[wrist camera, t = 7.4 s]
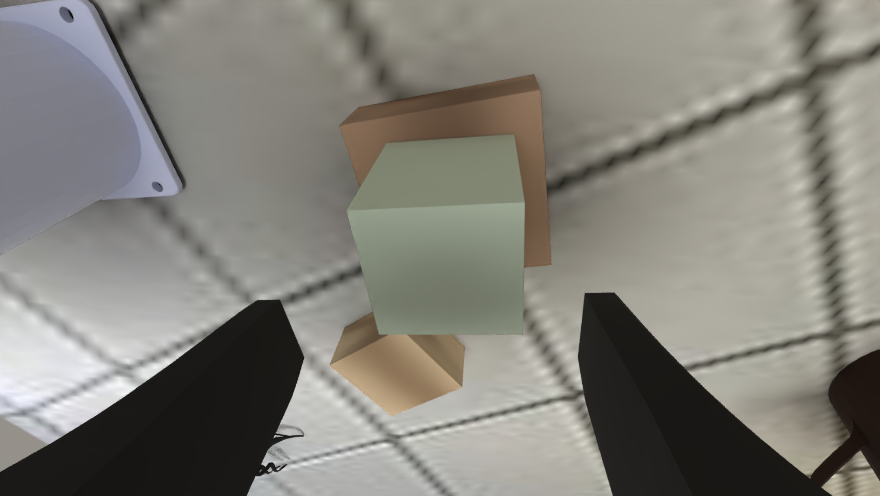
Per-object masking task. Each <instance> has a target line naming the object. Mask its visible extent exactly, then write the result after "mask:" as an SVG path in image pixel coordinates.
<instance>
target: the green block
mask: <svg viewBox="0 0 880 496" xmlns="http://www.w3.org/2000/svg"><path fill="white" fill-rule="evenodd" d="M346 211H347V215H348V218H349V222H350V226H351V230H352V234H353V237H354V241H355V245H356V249H357V253H358V256H359V260H360V264H361V268H362V272H363V275H364V279H365V283H366V287H367V291H368V294H369V298H370V302H371V306H372V310H373V313H374V317H375V321H376V325H377V329H378V332H379V335H523V296H524V220H525V201H524V194H523V188H522V181H521V175H520V169H519V162H518V156H517V149H516V143H515V136H514V134H507V135H493V136H478V137H464V138H449V139H435V140H420V141H405V142H391V143H386V145H385V146H384V148H383V150H382V152H381V153H380V155H379V157H378V158H377V160H376V162H375V163H374V165H373V167H372V168H371V170H370V172H369V173H368V175H367V177H366V178H365V180H364V182H363V183H362V185H361V187H360V188H359V190H358V192H357V194H356V195H355V197H354V199H353V200H352V202H351V204H350V205H349V207H348V209H347V210H346Z"/></svg>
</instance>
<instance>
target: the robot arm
mask: <svg viewBox="0 0 880 496" xmlns="http://www.w3.org/2000/svg"><path fill="white" fill-rule="evenodd" d="M68 9H69V10H70V11H71V13H72V14H73V17H74V20H73V19H72V18H71V16H70V15H69V12H68ZM158 183H160V184H161V185H162V187H163V188H162V187H160V186H159V184H158ZM181 190H182V183H181V181H180V179H179V177H178V175H177V173H176V171H175V169H174V167H173V165H172V163H171V160H170V158H169V156H168V154H167V152H166V150H165V148H164V146H163V144H162V142H161V140H160V138H159V136H158V134H157V132H156V130H155V128H154V126H153V124H152V122H151V120H150V118H149V116H148V114H147V112H146V110H145V108H144V105H143V103H142V101H141V99H140V97H139V95H138V93H137V91H136V89H135V87H134V85H133V83H132V81H131V79H130V77H129V75H128V73H127V71H126V69H125V67H124V65H123V63H122V61H121V59H120V57H119V55H118V53H117V50H116V48H115V46H114V44H113V42H112V40H111V38H110V36H109V34H108V32H107V30H106V28H105V26H104V24H103V22H102V20H101V18H100V16H99V14H98V12H97V10H96V9H95V7H94V5H93V4H91V3H90V2H89V1H88V0H51V1H44V2H37V3H31V4H24V5H17V6H10V7H4V8H0V255H2V254H4V253H5V252H7V251H9V250H11V249H13V248H14V247H16V246H18V245H20V244H21V243H23V242H25V241H27V240H29V239H30V238H32V237H34V236H36V235H37V234H39V233H41V232H43V231H45V230H46V229H48V228H50V227H52V226H54V225H55V224H57V223H59V222H61V221H62V220H64V219H66V218H68V217H70V216H71V215H73V214H75V213H77V212H78V211H80V210H82V209H84V208H86V207H87V206H89V205H91V204H93V203H95V202H96V201H98V200H109V199H125V198H142V197H158V196H173V195H176V194H178V193H179V192H180V191H181ZM303 360H304V356H303V353H302V351H301V349H300V346H299V344H298V341H297V339H296V337H295V334H294V332H293V330H292V327H291V325H290V322H289V320H288V318H287V315H286V313H285V311H284V308H283V306H282V303H281V301H280V300H257V301H255V302H254V303H252V304H251V305H249V306H248V307H246V308H245V309H243V310H242V311H241V312H239V313H238V314H237V315H235V316H234V317H232V318H231V319H230V320H228V321H227V322H226V323H224V324H223V325H222V326H220V327H219V328H218V329H216V330H215V331H214V332H213V333H211V334H210V335H209V336H207V337H206V338H205V339H203V340H202V341H201V342H199V343H198V344H197V345H195V346H194V347H193V348H191V349H190V350H189V351H187V352H186V353H185V354H183V355H182V356H181V357H179V358H178V359H177V360H175V361H174V362H173V363H171V364H170V365H169V366H167V367H166V368H164V369H163V370H161V371H160V372H159V373H157V374H156V375H154V376H153V377H152V378H150V379H149V380H147V381H146V382H145V383H143V384H142V385H140V386H139V387H137V388H136V389H135V390H133V391H132V392H130V393H129V394H128V395H126V396H125V397H123V398H122V399H120V400H119V401H117V402H116V403H114V404H113V405H111V406H110V407H108V408H107V409H105V410H104V411H102V412H101V413H99V414H98V415H96V416H95V417H93V418H91V419H90V420H88V421H87V422H85V423H83V424H82V425H80V426H78V427H77V428H75V429H74V430H72V431H70V432H69V433H67V434H66V435H64V436H62V437H61V438H59V439H57V440H56V441H54V442H52V443H51V444H49V445H47V446H45V447H44V448H42V449H40V450H38V451H37V452H35V453H33V454H31V455H29V456H28V457H26V458H24V459H22V460H21V461H19V462H17V463H15V464H13V465H12V466H10V467H8V468H6V469H5V470H3V471H1V472H0V496H247V494H248V492H249V489H250V487H251V485H252V483H253V480H254V478H255V476H256V474H257V472H258V470H259V468H260V465H261V463H262V461H263V459H264V457H265V455H266V453H267V450H268V448H269V446H270V444H271V442H272V440H273V438H274V435H275V433H276V431H277V429H278V427H279V425H280V422H281V420H282V418H283V416H284V414H285V411H286V409H287V407H288V405H289V403H290V400H291V398H292V396H293V393H294V390H295V387H296V384H297V381H298V377H299V374H300V370H301V367H302V364H303ZM578 361H579V367H580V373H581V379H582V385H583V390H584V396H585V401H586V405H587V408H588V412H589V415H590V419H591V422H592V426H593V429H594V433H595V436H596V440H597V443H598V446H599V450H600V453H601V457H602V460H603V464H604V467H605V470H606V474H607V477H608V481H609V484H610V487H611V491H612V494H613V496H832V495H831V494H829V493H828V492H826V491H825V490H824V489H823V488H821V487H820V486H819V485H817V484H816V483H815V482H814V481H812V480H811V479H810V478H808V477H807V476H806V475H805V474H803V473H802V472H801V471H799V470H798V469H797V468H796V467H794V466H793V465H792V464H791V463H789V462H788V461H787V460H786V459H785V458H783V457H782V456H781V455H780V454H779V453H777V452H776V451H775V450H774V449H772V448H771V447H770V446H769V445H768V444H766V443H765V442H764V441H763V440H762V439H760V438H759V437H758V436H757V435H756V434H755V433H753V432H752V431H751V430H750V429H749V428H748V427H747V426H745V425H744V424H743V423H742V422H741V421H740V420H739V419H738V418H736V417H735V416H734V415H733V414H732V413H731V412H730V411H729V410H728V409H726V408H725V407H724V406H723V405H722V404H721V403H720V402H719V401H718V400H717V399H716V398H715V397H714V396H712V395H711V394H710V393H709V392H708V391H707V390H706V389H705V388H704V387H703V386H702V385H701V384H700V383H699V382H698V381H697V380H696V379H695V378H694V377H693V376H692V375H691V374H690V373H689V372H688V371H687V370H686V369H685V368H684V367H683V366H682V365H681V364H680V363H679V362H678V361H677V360H676V359H675V358H674V357H673V356H672V355H671V354H670V353H669V352H668V351H667V350H666V349H665V348H664V347H663V346H662V345H661V344H660V343H659V341H658V340H657V339H656V338H655V337H654V336H653V335H652V334H651V333H650V332H649V331H648V330H647V328H646V327H645V326H644V325H643V324H642V323H641V322H640V321H639V320H638V318H637V317H636V316H635V315H634V314H633V313H632V312H631V311H630V309H629V308H628V307H627V306H626V305H625V304H624V303H623V301H622V300H621V299H620V298H619V297H618V296H617V295H616V294H615V293H585V296H584V305H583V315H582V324H581V334H580V343H579V353H578Z"/></svg>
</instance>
